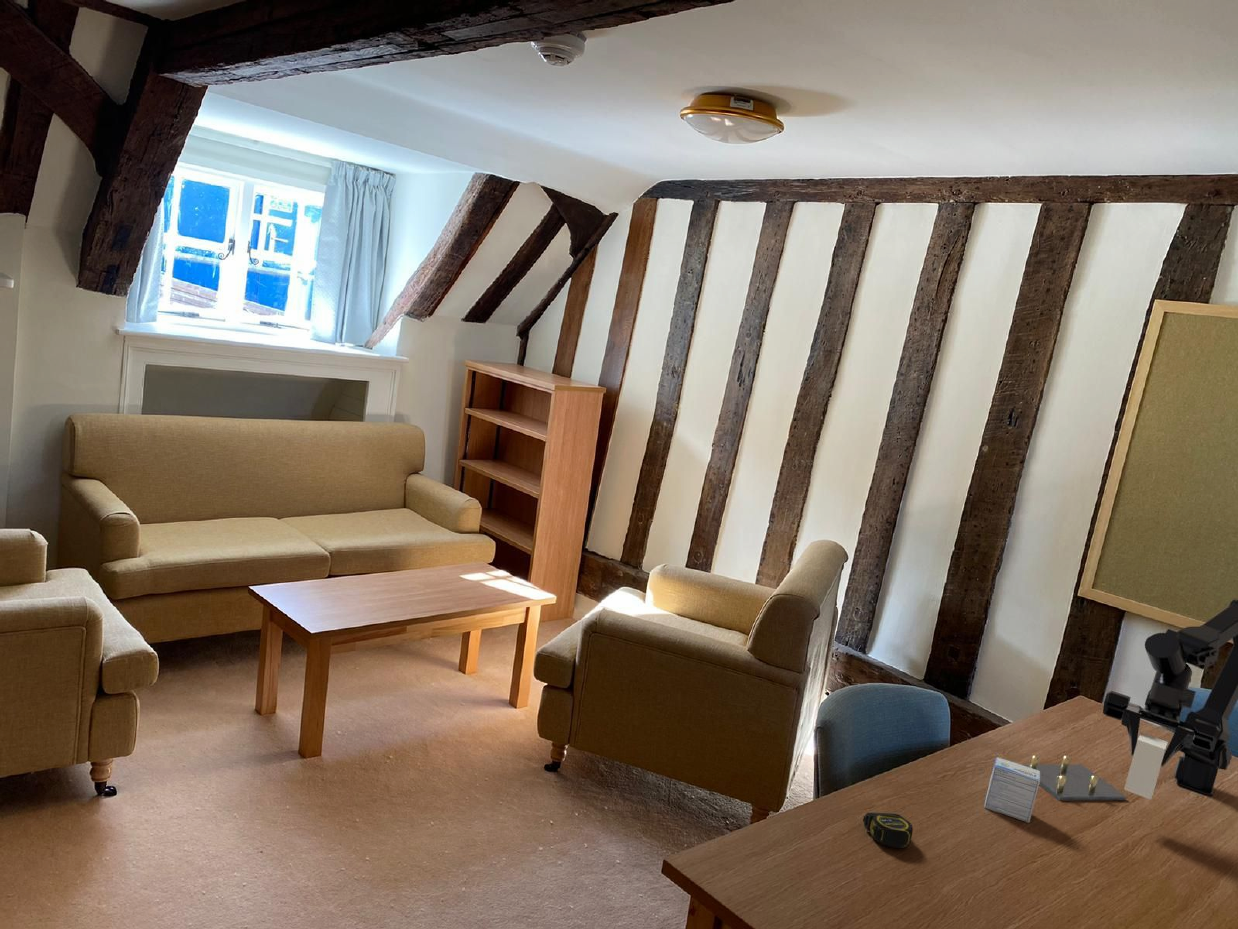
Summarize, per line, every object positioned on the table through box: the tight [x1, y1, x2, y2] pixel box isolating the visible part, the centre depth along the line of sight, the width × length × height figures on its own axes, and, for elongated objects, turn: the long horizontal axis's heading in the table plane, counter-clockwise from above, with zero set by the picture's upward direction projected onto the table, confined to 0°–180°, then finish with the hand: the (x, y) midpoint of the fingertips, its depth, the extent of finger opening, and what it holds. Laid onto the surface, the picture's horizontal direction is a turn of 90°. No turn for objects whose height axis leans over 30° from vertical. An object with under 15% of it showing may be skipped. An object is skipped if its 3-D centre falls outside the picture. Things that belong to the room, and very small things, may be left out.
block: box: [1123, 732, 1169, 800], centre depth 177 cm, size 4×4×10 cm
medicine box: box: [983, 756, 1040, 823], centre depth 175 cm, size 8×4×9 cm, turn 65°
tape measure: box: [862, 812, 914, 849], centre depth 159 cm, size 7×7×4 cm
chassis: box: [1022, 754, 1128, 802], centre depth 191 cm, size 16×12×4 cm
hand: (1147, 760), depth 175 cm, fingers closed on block, 4 cm apart
